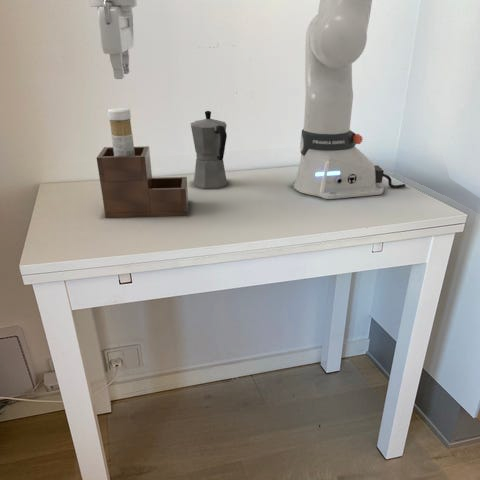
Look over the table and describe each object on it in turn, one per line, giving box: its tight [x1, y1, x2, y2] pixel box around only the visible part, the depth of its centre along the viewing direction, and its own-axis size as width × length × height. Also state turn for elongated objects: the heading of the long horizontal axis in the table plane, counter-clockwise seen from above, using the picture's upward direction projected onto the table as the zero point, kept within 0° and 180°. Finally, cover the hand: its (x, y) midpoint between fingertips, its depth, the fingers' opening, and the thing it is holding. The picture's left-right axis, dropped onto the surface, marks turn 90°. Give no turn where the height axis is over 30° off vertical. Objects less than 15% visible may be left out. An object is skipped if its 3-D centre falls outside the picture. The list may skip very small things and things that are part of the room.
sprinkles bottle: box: [107, 107, 135, 156], centre depth 106 cm, size 5×5×14 cm
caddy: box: [96, 145, 189, 219], centre depth 111 cm, size 18×10×13 cm, turn 94°
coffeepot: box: [190, 110, 228, 190], centre depth 125 cm, size 15×9×18 cm, turn 29°
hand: (122, 76), depth 102 cm, fingers open, 8 cm apart
